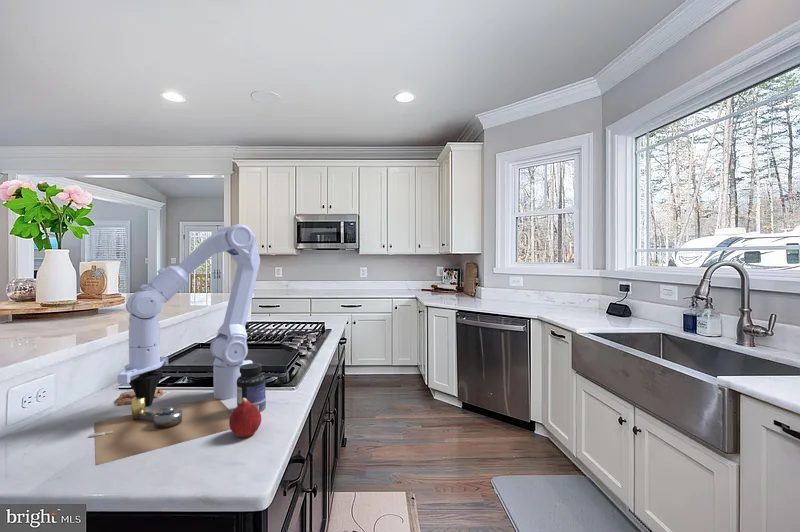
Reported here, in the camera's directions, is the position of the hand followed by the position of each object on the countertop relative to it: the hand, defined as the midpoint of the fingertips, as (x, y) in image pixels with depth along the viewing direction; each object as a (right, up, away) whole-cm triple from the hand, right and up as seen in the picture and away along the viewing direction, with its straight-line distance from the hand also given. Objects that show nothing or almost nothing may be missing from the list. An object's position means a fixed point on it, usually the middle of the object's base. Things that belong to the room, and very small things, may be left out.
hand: (145, 406), depth 86 cm
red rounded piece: (+26, -3, -10) cm, 29 cm away
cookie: (-8, -3, +10) cm, 14 cm away
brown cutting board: (+8, -3, -6) cm, 11 cm away
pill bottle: (+23, -3, +2) cm, 23 cm away
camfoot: (+5, -1, -4) cm, 7 cm away
